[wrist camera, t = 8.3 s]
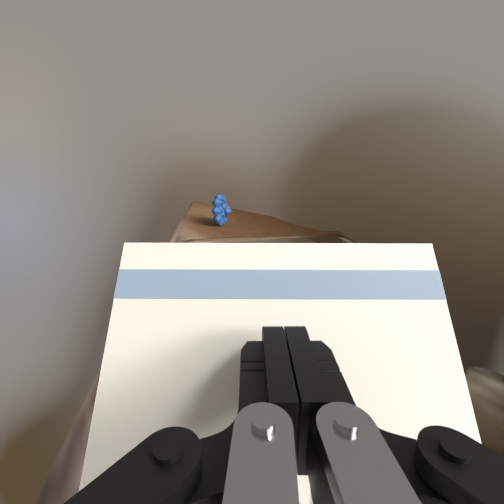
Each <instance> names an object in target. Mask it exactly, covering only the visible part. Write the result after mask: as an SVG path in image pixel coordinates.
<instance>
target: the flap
mask: <svg viewBox="0 0 504 504" xmlns="http://www.w3.org/2000/svg"><path fill="white" fill-rule="evenodd" d="M262 326H283V329H284V326H305V327H306V329H307V332H308V335H309V338H310V341H322V342H323V343H325V344H326V345H327V346H328V347H329V348H330V349H331V350H332V352H333V355H334V357H335V359H336V362H337V364H338V366H339V368H340V371H341V373H342V375H343V377H344V379H345V382H346V384H347V386H348V388H349V391H350V393H351V395H352V398H353V400H354V402H355V404H356V406H357V407H359V408H361V409H362V410H364V411H365V412H366V413H367V414H369V416H370V417H371V418H372V419H373V421H374V422H375V424H376V426H377V427H378V428H380V429H382V430H384V431H387V432H390V433H393V434H397V435H401V436H405V437H409V438H412V439H416V440H417V437H418V434H419V432H420V431H421V430H422V429H423V428H425V427H427V426H434V425H437V426H444V427H449V428H452V429H454V430H457V431H459V432H461V433H463V434H465V435H467V436H468V437H470V438H472V439H474V440H475V441H477V442H479V443H480V444H482V443H481V439H480V435H479V431H478V427H477V423H476V419H475V415H474V411H473V407H472V403H471V399H470V395H469V391H468V387H467V383H466V379H465V374H464V371H463V366H462V362H461V359H460V355H459V350H458V346H457V342H456V338H455V334H454V330H453V327H452V322H451V318H450V314H449V310H448V306H447V302H446V296H445V292H444V288H443V284H442V280H441V276H440V272H439V270H438V266H437V262H436V258H435V254H434V250H433V246H432V244H372V243H371V244H370V243H367V244H366V243H124V247H123V253H122V258H121V264H120V269H119V272H118V278H117V284H116V289H115V294H114V301H113V307H112V313H111V318H110V323H109V329H108V334H107V340H106V345H105V351H104V356H103V361H102V367H101V372H100V377H99V383H98V388H97V394H96V399H95V405H94V410H93V415H92V421H91V426H90V432H89V437H88V443H87V448H86V453H85V459H84V464H83V470H82V475H81V481H80V486H79V491H80V490H81V489H83V488H84V487H85V486H86V485H88V484H89V483H90V482H92V481H93V480H94V479H95V478H97V477H98V476H99V475H100V474H102V473H103V472H104V471H105V470H107V469H108V468H109V467H110V466H112V465H113V464H114V463H116V462H117V461H118V460H119V459H121V458H122V457H123V456H124V455H126V454H127V453H128V452H129V451H131V450H132V449H133V448H135V447H136V446H137V445H138V444H140V443H141V442H142V441H143V440H145V439H146V438H147V437H148V436H150V435H151V434H153V433H154V432H156V431H158V430H161V429H163V428H167V427H174V426H177V427H184V428H187V429H190V430H191V431H193V432H194V433H195V434H196V435H197V436H198V438H199V439H202V438H205V437H208V436H211V435H214V434H217V433H219V432H221V431H223V430H224V429H226V428H227V427H228V426H229V425H231V424H232V422H233V421H234V420H235V418H236V416H237V413H238V408H239V383H240V358H241V349H242V348H243V346H244V345H245V344H246V342H247V341H262ZM297 481H298V494H299V504H310V490H311V489H310V484H309V478H308V475H297ZM79 491H78V492H79Z"/></svg>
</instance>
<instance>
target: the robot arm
mask: <svg viewBox="0 0 504 504" xmlns="http://www.w3.org/2000/svg"><path fill="white" fill-rule="evenodd" d="M297 475H308V478H309V484H310V489H311V490H310V504H504V457H503V456H501V455H499V454H498V453H496V452H494V451H492V450H491V449H489V448H487V447H486V446H484V445H482V444H480V443H479V442H477V441H475V440H474V439H472V438H470V437H468V436H467V435H465V434H463V433H461V432H459V431H457V430H454V429H452V428H449V427H444V426H437V425H434V426H427V427H425V428H423V429H422V430H421V431H420V432H419V434H418V437H417V440H416V439H412V438H409V437H405V436H401V435H397V434H393V433H390V432H387V431H384V430H382V429H380V428H378V427H377V426H376V424H375V422H374V421H373V419H372V418H371V417H370V416H369V414H367V413H366V412H365V411H364V410H362V409H361V408H359V407H357V406H356V404H355V402H354V400H353V398H352V395H351V393H350V391H349V388H348V386H347V384H346V382H345V379H344V377H343V375H342V373H341V371H340V368H339V366H338V364H337V362H336V359H335V357H334V355H333V352H332V350H331V349H330V348H329V347H328V346H327V345H326V344H325V343H323V342H322V341H310V338H309V335H308V332H307V329H306V327H305V326H284V329H283V326H262V341H247V342H246V344H245V345H244V346H243V348H242V349H241V358H240V383H239V408H238V413H237V416H236V418H235V420H234V421H233V422H232V424H231V425H229V426H228V427H227V428H226V429H224V430H223V431H221V432H219V433H217V434H214V435H211V436H208V437H205V438H202V439H199V438H198V436H197V435H196V434H195V433H194V432H193V431H191V430H190V429H187V428H184V427H177V426H174V427H167V428H163V429H161V430H158V431H156V432H154V433H153V434H151V435H150V436H148V437H147V438H146V439H145V440H143V441H142V442H141V443H140V444H138V445H137V446H136V447H135V448H133V449H132V450H131V451H129V452H128V453H127V454H126V455H124V456H123V457H122V458H121V459H119V460H118V461H117V462H116V463H114V464H113V465H112V466H110V467H109V468H108V469H107V470H105V471H104V472H103V473H102V474H100V475H99V476H98V477H97V478H95V479H94V480H93V481H92V482H90V483H89V484H88V485H86V486H85V487H84V488H83V489H81V490H80V491H79V492H78V493H76V494H75V495H74V496H73V497H71V498H70V499H69V500H67V501H66V502H65V503H64V504H299V494H298V481H297Z"/></svg>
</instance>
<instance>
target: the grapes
mask: <svg viewBox="0 0 504 504" xmlns="http://www.w3.org/2000/svg"><path fill="white" fill-rule="evenodd" d="M225 201H226V198H225V197H224V196H223V195H220V194H217V196H215V199H214V201H213V202H212V203H213V205H214V206H215V207H214V208H213V209H212V212H213V214H214V215H216V216H215V217H214V218H213V219H214V221H215V222H216V223H217V224H218V225H219V226H222V225H223V224H224V223H226V221H227V219H226V216H227V215H228V214H230V212H231V209H230V208H229V207H228V204H227V203H226V202H225Z"/></svg>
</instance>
